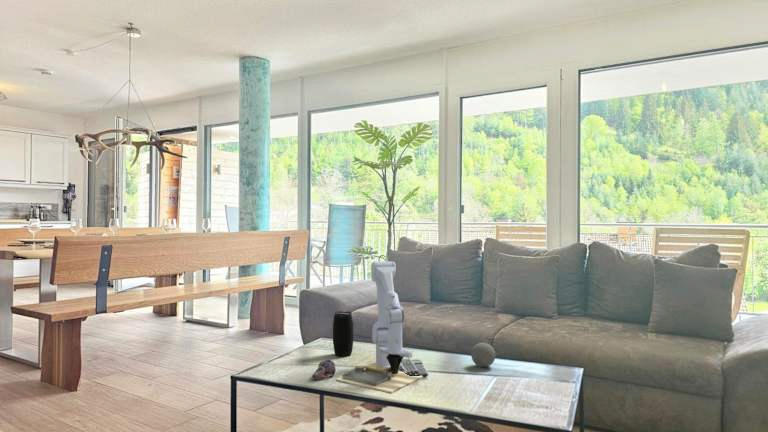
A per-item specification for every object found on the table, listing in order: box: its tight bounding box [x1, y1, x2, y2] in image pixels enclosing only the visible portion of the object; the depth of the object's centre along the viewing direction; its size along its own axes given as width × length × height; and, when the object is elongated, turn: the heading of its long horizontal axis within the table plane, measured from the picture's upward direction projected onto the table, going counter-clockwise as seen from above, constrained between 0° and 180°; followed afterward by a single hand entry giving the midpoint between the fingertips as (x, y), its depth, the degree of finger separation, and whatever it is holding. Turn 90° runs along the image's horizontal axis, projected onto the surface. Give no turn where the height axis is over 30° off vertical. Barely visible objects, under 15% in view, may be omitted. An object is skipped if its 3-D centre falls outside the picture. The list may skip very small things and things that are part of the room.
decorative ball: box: [470, 342, 496, 368], centre depth 219 cm, size 10×10×10 cm
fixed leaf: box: [341, 366, 392, 386], centre depth 201 cm, size 10×17×2 cm, turn 56°
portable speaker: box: [332, 310, 354, 358], centre depth 239 cm, size 9×9×20 cm
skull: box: [311, 359, 336, 381], centre depth 205 cm, size 12×8×6 cm, turn 144°
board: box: [335, 366, 424, 394], centre depth 203 cm, size 22×26×1 cm
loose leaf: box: [364, 364, 393, 375], centre depth 209 cm, size 8×12×3 cm
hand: (395, 373), depth 205 cm, fingers closed
